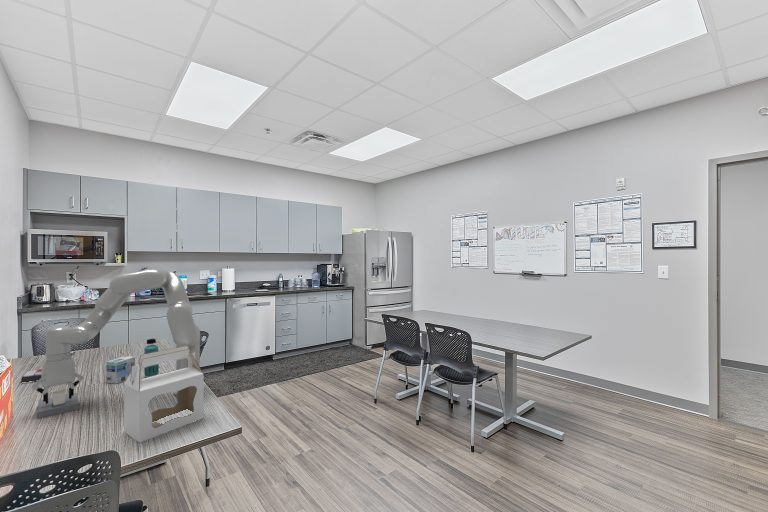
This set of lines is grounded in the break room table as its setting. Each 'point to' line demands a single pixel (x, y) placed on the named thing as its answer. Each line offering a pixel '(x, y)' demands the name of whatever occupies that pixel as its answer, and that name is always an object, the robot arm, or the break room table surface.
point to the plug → (58, 397)
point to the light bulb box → (119, 369)
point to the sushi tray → (31, 376)
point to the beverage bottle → (149, 349)
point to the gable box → (180, 380)
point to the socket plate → (50, 410)
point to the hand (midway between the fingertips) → (58, 400)
